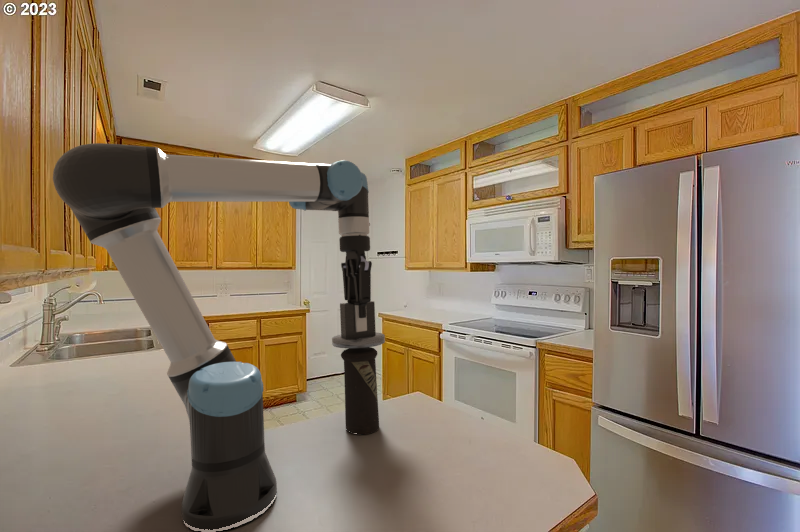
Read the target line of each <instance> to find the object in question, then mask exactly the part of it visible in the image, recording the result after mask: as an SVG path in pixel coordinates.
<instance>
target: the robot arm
mask: <svg viewBox="0 0 800 532" xmlns="http://www.w3.org/2000/svg"><path fill="white" fill-rule="evenodd" d="M52 181H53V185H54V186H53V187H54V189H55V191H56V193H57V195H58V196H59V198H60V199H61V200H62V202H64V203H65V204H66V205H67V206H68V208H70V210H71V211H72V213H73V215H74V216H75V218H76V221H77V222H78V223H79V225H80V226H81V229H82V230H83V232H84V233H85V235H86V237H87V239H88V240H89V241H90V243H91V244H92V245H95V246H97V247H102V248H104V249H105V250H106V252H107V253H108V255H109V257H110V258H111V260H112V263H114V265H115V267H116V269H117V271H118V272H119V274H120V276H121V278H122V279H123V281H124V283H125V284H126V287H127V288H128V290H129V291H130V294H131V295H132V297H133V299H134V301H135V302H136V304H137V306H138V308H139V309H140V311H141V312H142V313H141V314H143V316H144V318H145V320H146V321H147V323H148V325H149V327H150V328H151V330H152V332H153V334H154V335H155V337H156V339H157V341H158V342H159V344H160V345H161V347H162V349H163V351H164V353H165V355H166V356H167V359H168V360H169V362H170V363H169V364H170V365H169V366H168V367H169V368H168V369H167V372H166V374H167V377H168V378H169V380H170V382H171V384H172V386H173V387H174V389H175V391H176V393H177V394H178V396H179V398H180V400H181V401H182V404H183V405H184V408H185V409H186V413H187V417H188V420H189V436H190V453H191V471H190V474H189V477H188V481H187V484H186V487H185V491H184V494H183V497H182V501H181V507H180V508H181V519H182V518H183V520H184V521H185V523H187V524H188V525H190V526H192V527H195V528H199V529H204V530H205V529H208V530H209V529H210V530H213V529H219V528H222V527H226V526H230V525H232V524H235V523H237V522H240V521H242V520H244V519H246V518H248V517H250V516H252V515H255V514H257V513H258V512H260V511H262V510H263V509H264V508H266V507H267V506H268V505H269V504H270V503H271V501H272V500H273V499H274V497H275V495H276V493H277V494H278V486H277V483H278V482H277V479H276V476H275V473H274V470H273V468H272V466H271V464H270V460H269V459H268V456H267V453H266V447H265V445H266V443H265V421H264V420H265V419H264V398H263V397H264V396H263V394H264V393H263V392H264V382H263V379H262V374H261V371H260V369H259V368H258V367H257V366H255V365H254V364H251V363H249V362H242V361H236V359H235V356H234V354H233V353H232V351H231V348H230V347H229V346H228V345H229V344H228V343H227V342H225V341H221V340H218V339H216V338H215V336H214V335H213V333H212V331H211V329H210V327H209V325H208V323H207V322H206V320H205V318H204V316H203V314H202V312H201V310H200V308H199V307H198V304H197V303H196V301H195V299H194V297H193V295H192V294H191V291H190V290H189V288H188V286H187V283H186V282H185V280H184V279H183V276H182V275H181V273H180V272H179V269H178V268H177V265H176V263H175V262H174V260H173V258H172V256H171V253H170V252H169V250H168V248H167V246H166V245H165V243H164V241H163V239H162V237H161V235H160V234H159V233H160V232H158V228H159V226H160V224H161V221H162V219H161V217H160V215H159V213H158V211H157V209H158V208H159V209H163V208H165V206H167V205H168V204H169V203H176V202H178V203H179V202H180V203H181V202H183V203H185V202H186V203H187V202H191V203H192V202H193V203H195V202H196V203H197V202H199V203H200V202H201V203H202V202H203V203H205V202H206V203H207V202H210V203H211V202H213V203H214V202H216V203H217V202H225V203H226V202H233V203H234V202H235V203H236V202H245V203H246V202H265V203H266V202H271V203H272V202H285V203H286V202H287V203H289V205H290V207H291V208H292V209H295V210H303V211H328V212H329V211H332V212H337V214H338V234H339V235H340V237H339V251H340V252H341V253H345V262H341V264H340V266H341V270H342V279H343V281H342V282H343V295H344V301H346V303H351V302H356V303H354V305H355V324H356V332H361V331H367V316H366V304H367V302H370V301H371V297H372V294H371V293H372V292H371V291H372V289H371V287H372V285H371V283H372V281H371V278H372V274H371V272H372V267H373V265H372V264H373V263H372V260H371V261H369V260H367V256H366V252H369V251H370V250H371V238H370V236H369V234H370V226H371V223H370V218H369V217H370V215H369V214H370V212H369V211H370V210H369V207H370V206H369V193H370V192H369V191H370V190H369V185H368V178H367V175H366V174H365V173H363V172H362V171H361V170H360V168H359V167H358V166H357V165H356V164H355V163H354V162H352V161H349V160H347V159H346V160H345V159H343V160H342V159H341V160H339V161H334V162H332V163H330V164H329V163H311V162H309V163H308V162H293V161H292V162H291V161H278V160H277V161H276V160H275V161H274V160H263V159H262V160H260V159H247V158H244V159H243V158H228V157H214V156H213V157H211V156H198V155H196V156H195V155H179V154H166V153H165V152H163V151H162V150H161V149H160V148H159V147H158V146H157V147H156V146H144V145H133V144H132V145H131V144H119V143H101V142H100V143H99V142H96V143H85V144H81V145H77V146H75V147H73V148H71V149H69V150H67V151H65V152H64V153H63V154H62V155H61V156H60V157H59V158H58V159H57V161H56V163H55V166H54V169H53V173H52ZM156 208H157V209H156Z"/></svg>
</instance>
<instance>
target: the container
mask: <svg viewBox="0 0 800 532" xmlns="http://www.w3.org/2000/svg"><path fill="white" fill-rule="evenodd" d="M340 356H341V359H342V360H343V372H344V373H343V375H344V407H345V409H344V411H345V416H344V417H345V421H344V422H345V430H346V429H347V430H348V431H350V432H352V433H357V434H364V435H369V434H373V433H376V432H377V431H378V430H379V429H380V418H379V417H380V416H379V402H378V401H379V400H378V398H379V397H378V386H377V385H378V383H377V382H378V381H377V366H376V365H377V364H376V358H377V356H378V351H377V350H376V349H375V348H373V347H367V348H345V349H344V350H343V351H342V352H341V353H340ZM347 430H346V431H347ZM348 431H347V432H348ZM352 433H351V434H352ZM357 434H356V435H357Z"/></svg>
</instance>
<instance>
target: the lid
mask: <svg viewBox="0 0 800 532" xmlns="http://www.w3.org/2000/svg"><path fill="white" fill-rule="evenodd" d="M354 303H356V302H351V303H348V302H342V303H341V302H340V303H339V313H340V316H339V317H340V334H337V335H334V336H333V337H332V338H331V343H332V344H331V345H332V346H333V347H335V348H340V349H349V348H367V347H371V348H373V347H377V346H380V345H383V344H385V342H386V336H385V334H384V333H381V332H376V331H377V330H376V309H375V301H370V302H367V304H366V316H367V331H361V332H356V324H355V305H354Z"/></svg>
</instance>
